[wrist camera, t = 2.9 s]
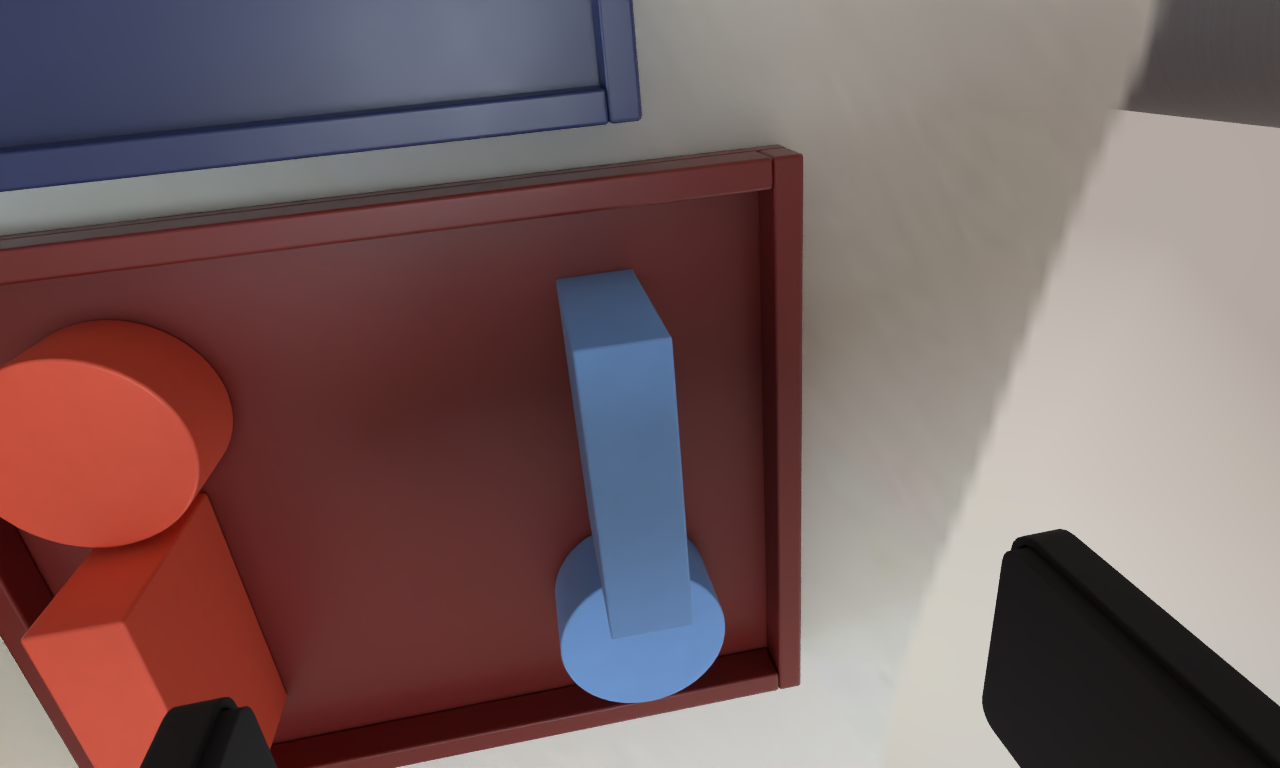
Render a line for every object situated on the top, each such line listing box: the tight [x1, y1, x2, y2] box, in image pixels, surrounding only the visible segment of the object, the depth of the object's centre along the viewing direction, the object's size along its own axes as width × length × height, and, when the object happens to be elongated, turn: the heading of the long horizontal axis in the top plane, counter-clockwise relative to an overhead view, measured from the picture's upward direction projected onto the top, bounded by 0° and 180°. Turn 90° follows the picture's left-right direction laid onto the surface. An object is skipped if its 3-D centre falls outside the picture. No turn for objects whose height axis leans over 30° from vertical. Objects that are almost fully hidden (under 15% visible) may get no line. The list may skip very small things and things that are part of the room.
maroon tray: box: [0, 145, 803, 768], centre depth 17 cm, size 17×14×1 cm
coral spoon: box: [0, 320, 287, 768], centre depth 14 cm, size 10×4×4 cm, turn 5°
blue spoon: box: [555, 269, 725, 703], centre depth 16 cm, size 10×4×4 cm, turn 5°
